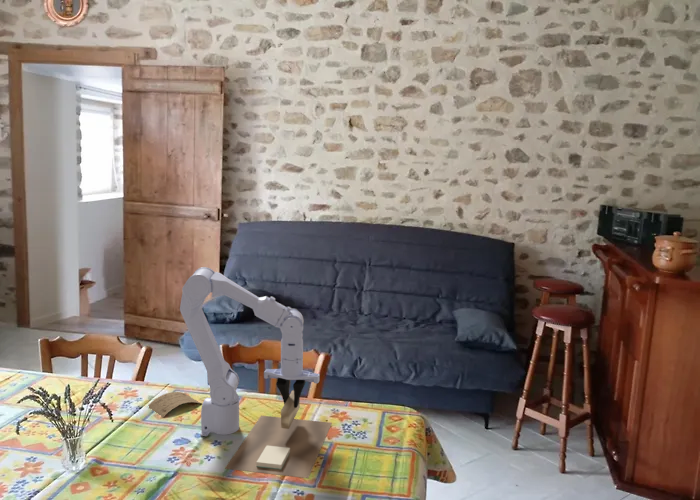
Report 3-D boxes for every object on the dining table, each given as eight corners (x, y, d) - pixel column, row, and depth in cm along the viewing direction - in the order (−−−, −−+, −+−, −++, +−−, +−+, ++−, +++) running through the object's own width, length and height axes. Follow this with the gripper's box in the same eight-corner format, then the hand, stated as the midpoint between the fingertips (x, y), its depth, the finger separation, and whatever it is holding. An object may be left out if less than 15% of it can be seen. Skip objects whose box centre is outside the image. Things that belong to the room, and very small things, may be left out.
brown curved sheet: (161, 420, 168) (161, 411, 168) (142, 409, 175) (142, 400, 174) (206, 404, 179) (205, 396, 178) (186, 394, 186) (186, 386, 185)
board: (224, 472, 142) (224, 468, 142) (261, 418, 170) (261, 415, 169) (308, 482, 139) (308, 478, 139) (331, 426, 166) (331, 422, 166)
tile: (266, 449, 151) (256, 466, 143) (266, 445, 151) (256, 462, 143) (290, 452, 150) (281, 469, 142) (290, 447, 150) (281, 464, 142)
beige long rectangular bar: (281, 428, 156) (280, 410, 155) (292, 406, 167) (292, 390, 166) (288, 428, 156) (288, 411, 155) (299, 407, 166) (299, 390, 165)
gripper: (322, 353, 162) (321, 401, 164) (269, 349, 164) (269, 396, 167) (316, 363, 155) (315, 413, 157) (261, 358, 157) (261, 407, 160)
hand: (291, 405), depth 161 cm, fingers closed on beige long rectangular bar, 2 cm apart
